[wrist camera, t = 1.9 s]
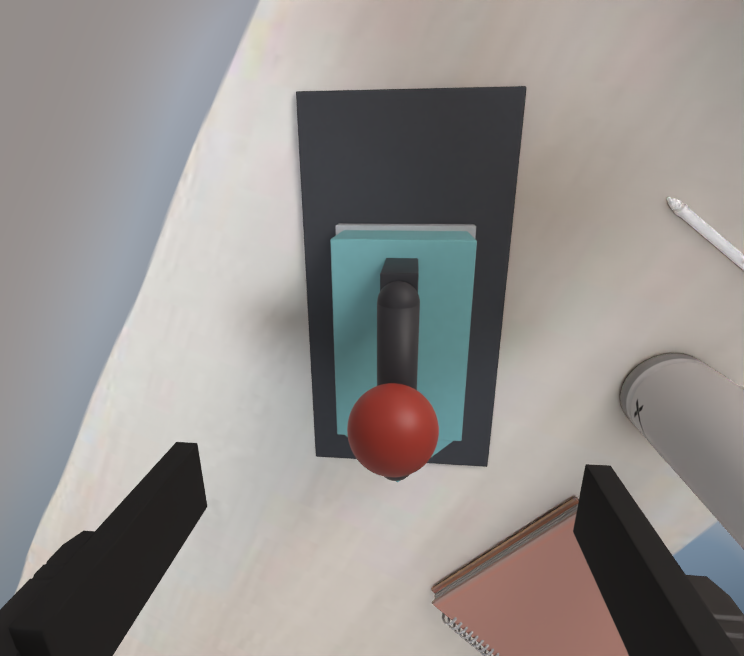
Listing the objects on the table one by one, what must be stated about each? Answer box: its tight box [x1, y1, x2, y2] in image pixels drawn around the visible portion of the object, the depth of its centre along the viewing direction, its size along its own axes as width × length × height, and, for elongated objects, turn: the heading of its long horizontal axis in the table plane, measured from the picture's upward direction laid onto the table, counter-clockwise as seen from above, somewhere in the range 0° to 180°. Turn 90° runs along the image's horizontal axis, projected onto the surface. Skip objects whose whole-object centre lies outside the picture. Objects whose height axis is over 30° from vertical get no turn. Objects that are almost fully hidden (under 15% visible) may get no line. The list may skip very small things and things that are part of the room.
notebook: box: [432, 497, 629, 656], centre depth 39 cm, size 27×17×2 cm, turn 46°
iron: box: [330, 223, 477, 482], centre depth 24 cm, size 17×9×16 cm, turn 0°
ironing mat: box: [296, 86, 526, 467], centre depth 31 cm, size 14×27×1 cm, turn 0°
